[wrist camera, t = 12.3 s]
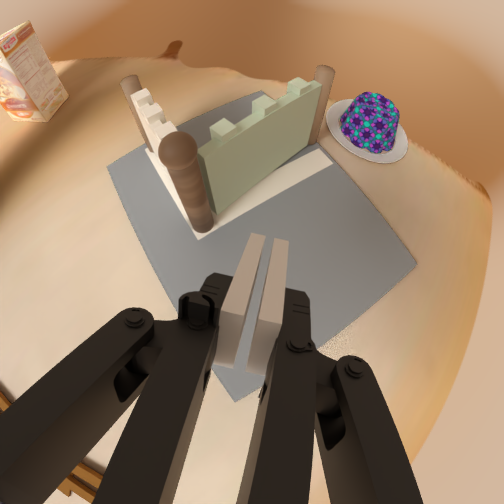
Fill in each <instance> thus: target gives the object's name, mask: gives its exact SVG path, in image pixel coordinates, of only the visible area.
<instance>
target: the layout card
mask: <svg viewBox="0 0 504 504" xmlns="http://www.w3.org/2000/svg"><path fill="white" fill-rule="evenodd" d="M264 94H265V93H264V92H263V91H258V92H256V93H253V94H250V95H248V96H245V97H242V98H240V99H237V100H235V101H232V102H230V103H227V104H225V105H223V106H220V107H218V108H216V109H213V110H211V111H209V112H207V113H204V114H202V115H200V116H198V117H196V118H194V119H191V120H189V121H187V122H185V123H183V124H181V125H179V126H177V127H175V128H176V129H177V131H182V132H186V133H188V134H190V135H191V136H192V137H193V138H194V139H195V141H196V143H197V147H198V149H199V148H200V147H202V146H203V145H205V144H206V143H208V142H209V141H210V140H212V139H211V133H210V126H212V125H214V124H215V123H217V122H218V121H220V120H221V119H223V118H225V119H226V120H228V121H229V122H231V123H232V124H233V125H235V124H236V123H238V122H240V121H241V120H243V119H244V118H246V117H248V116H249V115H251V114H252V101H254V100H255V99H257V98H259V97H261V96H263V95H264ZM265 95H266V94H265ZM197 159H198V158H197ZM198 163H199V162H198ZM199 167H200V166H199ZM107 169H108V171H109V174H110V176H111V179H112V181H113V183H114V186H115V188H116V191H117V193H118V195H119V198H120V200H121V202H122V204H123V207H124V209H125V211H126V213H127V216H128V218H129V220H130V222H131V224H132V226H133V229H134V231H135V233H136V235H137V237H138V239H139V241H140V243H141V245H142V247H143V249H144V251H145V253H146V255H147V257H148V259H149V261H150V263H151V265H152V267H153V269H154V271H155V273H156V275H157V277H158V278H159V280H160V282H161V284H162V286H163V288H164V290H165V291H166V293H167V295H168V297H169V299H170V300H171V302H172V304H173V306H174V308H175V309H176V311H177V313H178V300H179V298H180V297H181V296H182V295H183V294H185V293H187V292H193V291H200V288H201V286H202V285H203V283H204V281H205V279H206V277H208V276H209V275H211V274H212V273H214V272H216V273H220V274H224V275H229V276H233V277H234V275H235V272H236V270H237V267H238V265H239V262H240V260H241V257H242V255H243V252H244V250H245V247H246V245H247V242H248V240H249V237H250V235H251V233H255V234H260V235H264V236H265V241H264V246H263V251H262V255H261V260H260V265H259V269H258V274H257V279H256V283H255V287H254V290H253V294H252V298H251V302H250V306H249V310H248V313H247V317H246V321H245V325H244V329H243V333H242V336H241V340H240V344H239V348H238V351H237V355H236V359H235V363H234V366H233V369H232V368H227V367H223V366H219V365H215V364H213V363H214V360H213V363H212V366H211V368H212V370H213V371H214V373H215V374H216V376H217V377H218V379H219V380H220V382H221V383H222V385H223V386H224V388H225V389H226V391H227V392H228V393H229V395H230V396H231V398H232V399H233V401H234V402H236V401H238V400H240V399H242V398H243V397H245V396H247V395H248V394H250V393H252V392H253V391H255V390H256V389H258V388H260V387H261V386H263V383H264V380H265V376H266V373H265V376H263V375H258V374H254V373H249V372H245V369H246V365H247V360H248V356H249V351H250V347H251V342H252V338H253V333H254V328H255V324H256V319H257V315H258V310H259V305H260V300H261V296H262V291H263V286H264V281H265V277H266V273H267V268H268V264H269V260H270V256H271V251H272V247H273V242H274V238H278V239H282V240H287V241H289V246H288V260H287V273H286V285H285V288H290V289H295V290H299V291H304V292H306V294H307V296H308V297H309V299H310V313H311V314H310V315H311V339H312V341H313V342H314V343H315V346H316V349H318V348H319V347H320V346H322V345H323V344H324V343H326V342H327V341H328V340H330V339H331V338H332V337H334V336H335V335H336V334H338V333H339V332H340V331H341V330H343V329H344V328H345V327H347V326H348V325H349V324H350V323H352V322H353V321H354V320H355V319H357V318H358V317H359V316H360V315H361V314H363V313H364V312H365V311H366V310H367V309H369V308H370V307H371V306H372V305H373V304H375V303H376V302H377V301H378V300H379V299H380V298H382V297H383V296H384V295H385V294H386V293H387V292H388V291H389V290H391V289H392V288H393V287H394V286H395V285H396V284H397V283H398V282H399V281H400V280H402V279H403V278H404V277H405V276H406V275H407V274H408V273H409V272H410V271H411V270H412V269H413V268H414V267H415V266H416V265H417V263H416V261H415V260H414V258H413V257H412V256H411V254H410V253H409V251H408V250H407V249H406V247H405V246H404V244H403V243H402V242H401V240H400V239H399V238H398V236H397V235H396V234H395V232H394V231H393V230H392V228H391V227H390V226H389V224H388V223H387V222H386V220H385V219H384V218H383V217H382V215H381V214H380V213H379V212H378V210H377V209H376V208H375V207H374V205H373V204H372V203H371V202H370V201H369V199H368V198H367V197H366V196H365V195H364V193H363V192H362V191H361V190H360V189H359V187H358V186H357V185H356V184H355V183H354V182H353V181H352V179H351V178H350V177H349V176H348V175H347V174H346V173H345V172H344V170H343V169H342V168H341V167H340V166H339V165H338V164H337V163H336V162H335V161H334V160H333V158H332V157H331V156H330V155H329V154H328V153H327V152H326V151H325V150H324V149H323V148H322V147H321V146H320V145H319V144H318V143H317V142H316V143H315V144H313V145H308V144H307V146H306V147H304V148H303V149H301V150H300V151H299V152H297V153H296V154H295V155H293V156H292V157H291V158H289V159H288V160H287V161H286V162H284V163H283V164H282V165H280V166H279V167H278V168H276V169H275V170H274V171H272V172H271V173H270V174H269V175H267V176H266V177H265V178H263V179H262V180H261V181H260V182H258V183H257V184H256V185H254V186H253V187H252V188H251V189H249V190H248V191H247V192H246V193H244V194H243V195H242V196H241V197H239V198H238V199H237V200H236V201H234V202H233V203H232V204H231V205H230V206H228V207H227V208H226V209H225V210H223V211H222V212H221V213H220V214H219V215H216V214H215V213H214V212H213V211H212V210H211V212H212V216H213V219H214V225H213V228H212V229H211V230H210V231H209V232H206V233H198V232H196V231H195V230H194V229H193V227H192V225H191V222H190V220H189V218H188V216H187V214H186V211H185V209H184V207H183V205H182V202H181V200H180V198H179V196H178V193H177V191H176V189H175V186H174V184H173V183H172V181H171V180H170V178H169V176H168V175H167V173H166V171H165V170H164V168H163V166H162V165H161V163H160V161H159V160H158V158H157V156H156V155H155V153H152V152H150V151H149V149H148V147H147V145H146V143H145V144H143V145H142V146H140V147H138V148H136V149H135V150H133V151H131V152H130V153H128V154H126V155H125V156H123V157H121V158H120V159H118V160H116V161H115V162H113V163H112V164H110V165H108V166H107ZM200 171H201V170H200ZM201 175H202V174H201ZM203 182H204V181H203ZM204 186H205V185H204ZM205 190H206V189H205ZM206 194H207V193H206ZM208 201H209V200H208ZM209 205H210V204H209Z"/></svg>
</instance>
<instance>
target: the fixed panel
mask: <svg viewBox="0 0 504 504" xmlns="http://www.w3.org/2000/svg"><path fill="white" fill-rule="evenodd" d="M120 85H121V87H122V90H123V92H124V94H125V97H126V99H127V102H128V104H129V106H130V109H131V111H132V113H133V116H134V118H135V120H136V122H137V125H138V127H139V129H140V132H141V134H142V136H143V138H144V140H145V143H146V145H147V147H148V149H149V151H150V152H152V153H155V155H156V156H157V158H158V160H159V161H160V159H159V156H158V147H159V144H160V142H161V140H162V139H163V138H164V137H165V136H166V135H168V134H169V133H172V132H175V131H177V129H176V128H175V126H174V125H173V124H172V122H171V121H168V122H166V119H165V116H164V113H163V110H162V109H161V107H160V106H159V105H158V103H155V104H154V102H153V99H152V96H151V94H150V92H149V91H148V90H147V88H144V89H142V88H141V85H140V82H139V79H138V76H137V75H130V76H127V77H125V78H124V79H123V80H122V81H121V82H120ZM160 163H161V165H162V166H163V168H164V170H165V171H166V173H167V175H168V176H169V178H170V180H171V181H172V179H171V177H170V175H169V172H168V170H167V168H166V166H164V165H163V164H162V162H161V161H160ZM172 183H173V182H172Z"/></svg>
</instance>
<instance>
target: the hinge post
mask: <svg viewBox="0 0 504 504" xmlns="http://www.w3.org/2000/svg"><path fill="white" fill-rule="evenodd" d="M197 152H198V147H197V143H196V141H195V139H194V138H193V137H192V136H191V135H190V134H188V133H186V132H182V131H175V132H172V133H169V134H168V135H166V136H165V137H164V138H163V139H162V140H161V142H160V144H159V147H158V156H159V159H160V161H161V162H162V164H163V165H164V166H166V168H167V170H168V172H169V175H170V177H171V179H172V182H173V184H174V186H175V189H176V191H177V193H178V196H179V198H180V200H181V202H182V205H183V207H184V209H185V211H186V214H187V216H188V218H189V220H190V222H191V225H192V227H193V229H194V230H195V231H196V232H198V233H206V232H209V231H210V230H211V229H212V228H213V225H214V219H213V216H212V212H211V208H210V205H209V201H208V197H207V194H206V190H205V186H204V182H203V178H202V175H201V171H200V167H199V163H198V159H197Z"/></svg>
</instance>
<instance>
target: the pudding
mask: <svg viewBox="0 0 504 504" xmlns="http://www.w3.org/2000/svg"><path fill="white" fill-rule="evenodd" d="M341 115H342V116H341ZM340 116H341V117H340ZM339 118H340V121H341V122H342V126H341V130H340V127H339ZM326 121H327V125H328V128H329V130H330V132H331V133H332V135H333V136H334V137H335V139H336V140H337V141H338V142H339V143H340V144H341V145H342V146H343V147H345V148H346V149H347V150H349V151H350V152H352V153H353V154H355V155H357V156H359V157H361V158H363V159H366V160H369V161H372V162H377V163H393V162H396V161H399V160H400V159H402V158H403V157H404V155H405V154H406V152H407V149H408V140H407V136H406V133H405V131H404V130H403V128H402V126H401V125H400V124H399V111H398V109H397V108H396V107H395V106H394V104H393V102H392V101H390V100H389V99H386V98H385V97H384V96H382V95H381V94H377V93H375V94H374V93H371V92H364V93H362V94H361V95H359V96H357V97H356V98H355V99H346V100H341V101H338V102H336V103H334V104H333V105H331V107H330V108H329V109H328V111H327V115H326ZM341 131H342V132H343V134H344V135H346V136H348V137H350V140H351V142H352V143H353V144H354V145H355V146H354V145H353V144H352V143H350V142H349V141H348V140H347V139H346V138H345V136H344V135H343V134H342V132H341ZM394 141H395V146H394V148H393V149H392V147H393V144H394ZM356 146H357V147H356ZM358 147H359V148H366V149H368V150H369V151H370V152H372V153H369V152H366V151H364V150H361V149H359V148H358ZM391 149H392V150H391ZM382 150H385V151H390V150H391V151H390V152H388V153H385V154H374V153H381V151H382Z"/></svg>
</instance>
